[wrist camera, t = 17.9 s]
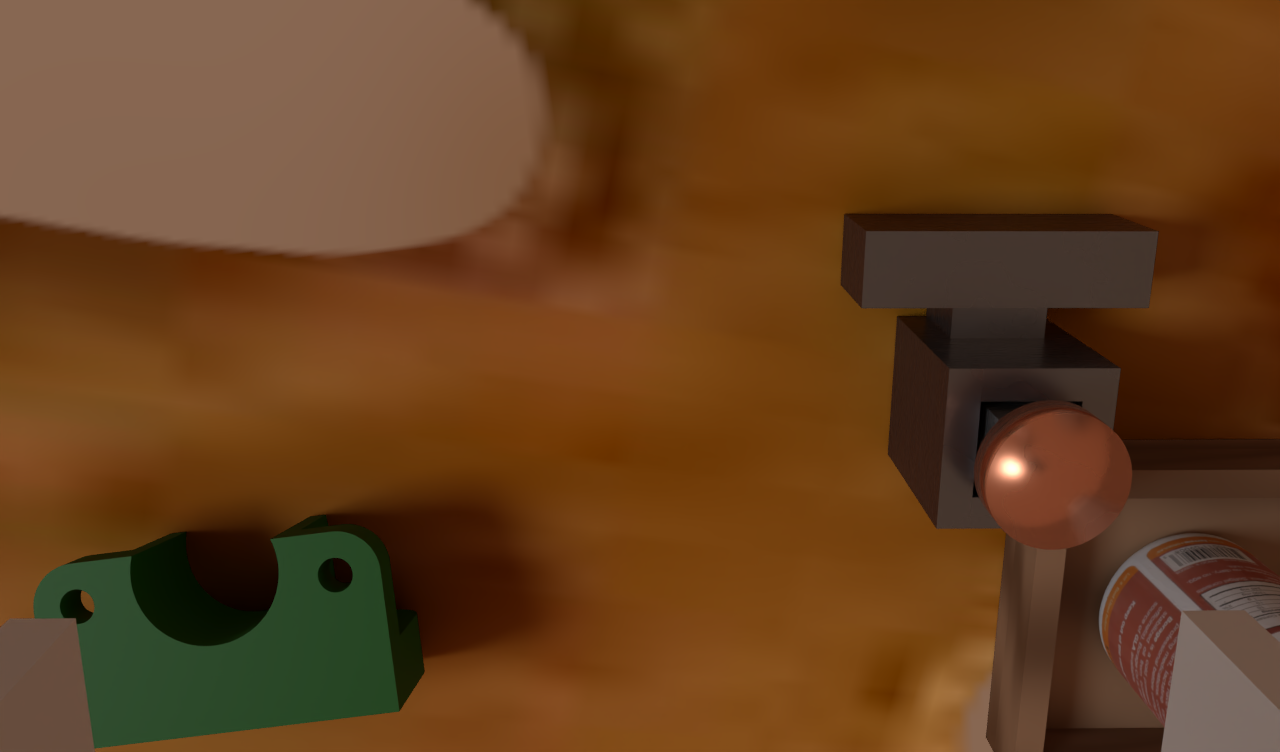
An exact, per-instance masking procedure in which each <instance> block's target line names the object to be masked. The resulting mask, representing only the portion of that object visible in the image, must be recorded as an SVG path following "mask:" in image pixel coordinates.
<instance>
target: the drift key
mask: <svg viewBox="0 0 1280 752" xmlns="http://www.w3.org/2000/svg"><path fill="white" fill-rule="evenodd" d="M974 481H975V487H976V490H977V494H978V496H979V498H980V500H981V502H982V504H983V505H984V507H985V508H986V510H987V511H988V512H989V513H990V515H991V516H992V517H993V518H994V520H995V521H996V522H997V524H998V525H999V526H1000V527H1001V528H1002V530H1003V531H1004V532H1006V533H1007V534H1008V535H1009V536H1010V537H1012V538H1013V539H1015V540H1016V541H1018V542H1020V543H1022V544H1024V545H1027V546H1030V547H1033V548H1038V549H1045V550H1058V549H1065V548H1071V547H1074V546H1077V545H1080V544H1083V543H1085V542H1087V541H1089V540H1091V539H1093V538H1094V537H1096V536H1098V535H1099V534H1100V533H1102V532H1103V531H1104V530H1105V529H1106V528H1108V527H1109V526H1110V525H1111V524H1112V523H1113V521H1114V520H1115V519H1116V518H1117V517H1118V515H1119V514H1120V512H1121V511H1122V509H1123V507H1124V505H1125V503H1126V501H1127V499H1128V496H1129V493H1130V489H1131V484H1132V465H1131V460H1130V456H1129V454H1128V451H1127V448H1126V447H1125V445H1124V443H1123V441H1122V440H1121V439H1120V437H1119V436H1118V435H1117V434H1116V433H1115V432H1114V431H1113V430H1112V429H1111V428H1110V427H1109V426H1107V425H1106V424H1105V423H1104V422H1102V421H1101V420H1100V419H1099V418H1097V417H1096V416H1095V415H1094V414H1092V413H1091V412H1089V411H1088V410H1086V409H1085V408H1083V407H1081V406H1079V405H1076V404H1073V403H1070V402H1065V401H1059V400H1044V401H1028V402H981V406H980V417H979V428H978V439H977V450H976V459H975V465H974Z"/></svg>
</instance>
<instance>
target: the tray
mask: <svg viewBox="0 0 1280 752" xmlns="http://www.w3.org/2000/svg"><path fill="white" fill-rule="evenodd" d="M1122 441H1123V443H1124V445H1125V447H1126V448H1127V451H1128V454H1129V456H1130V460H1131V465H1132V484H1131V489H1130V493H1129V496H1128V499H1127V501H1126V503H1125V505H1124V507H1123V509H1122V511H1121V512H1120V514H1119V515H1118V517H1117V518H1116V519H1115V520H1114V521H1113V523H1112V524H1111V525H1110V526H1109V527H1108V528H1106V529H1105V530H1104V531H1103V532H1102V533H1100V534H1099V535H1098V536H1096V537H1094V538H1093V539H1091V540H1089V541H1087V542H1085V543H1083V544H1080V545H1077V546H1074V547H1071V548H1065V549H1058V550H1045V549H1038V548H1033V547H1030V546H1027V545H1024V544H1022V543H1020V542H1018V541H1016V540H1015V539H1013V538H1012V537H1010V536H1009V535H1008V534H1007V533H1006V541H1005V551H1004V561H1003V571H1002V581H1001V591H1000V601H999V612H998V622H997V632H996V642H995V652H994V662H993V672H992V682H991V692H990V702H989V712H988V723H987V732H986V738H987V740H988V742H989V744H990V746H991V748H992V750H993V751H994V752H1161V748H1162V741H1163V735H1164V728H1165V727H1164V726H1163V725H1162V724H1161V723H1160V721H1159V720H1158V719H1157V718H1156V716H1155V715H1154V714H1153V712H1152V711H1151V710H1150V709H1149V708H1148V706H1147V705H1146V704H1145V703H1144V702H1143V700H1142V699H1141V698H1140V697H1139V695H1138V694H1137V693H1136V692H1135V691H1134V689H1133V688H1132V687H1131V686H1130V685H1129V683H1128V682H1127V681H1126V680H1125V678H1124V677H1123V676H1122V675H1121V674H1120V672H1119V671H1118V670H1117V668H1116V667H1115V665H1114V664H1113V663H1112V661H1111V660H1110V658H1109V656H1108V655H1107V653H1106V651H1105V649H1104V646H1103V643H1102V640H1101V636H1100V631H1099V611H1100V606H1101V602H1102V599H1103V596H1104V593H1105V590H1106V588H1107V586H1108V584H1109V582H1110V581H1111V579H1112V577H1113V576H1114V574H1115V573H1116V572H1117V570H1118V569H1119V568H1120V566H1121V565H1122V564H1123V563H1124V562H1125V561H1126V560H1127V559H1128V558H1130V557H1131V556H1132V555H1133V554H1134V553H1136V552H1137V551H1139V550H1140V549H1142V548H1143V547H1145V546H1146V545H1148V544H1150V543H1152V542H1154V541H1156V540H1158V539H1161V538H1165V537H1168V536H1172V535H1177V534H1185V533H1202V534H1209V535H1214V536H1218V537H1221V538H1224V539H1227V540H1229V541H1231V542H1233V543H1235V544H1237V545H1239V546H1241V547H1242V548H1243V549H1245V550H1246V551H1248V552H1249V553H1251V554H1252V555H1253V556H1255V557H1256V558H1257V559H1258V560H1260V561H1261V562H1262V563H1263V564H1264V565H1266V566H1267V567H1268V568H1269V569H1271V570H1272V571H1273V572H1274V573H1276V574H1277V575H1278V576H1279V577H1280V439H1245V440H1122Z"/></svg>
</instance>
